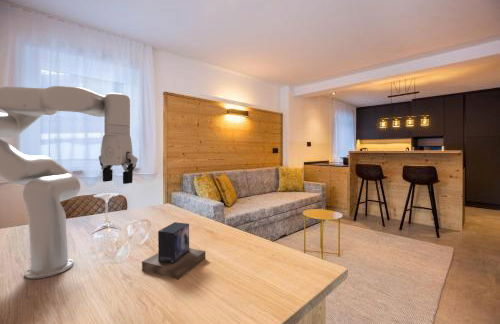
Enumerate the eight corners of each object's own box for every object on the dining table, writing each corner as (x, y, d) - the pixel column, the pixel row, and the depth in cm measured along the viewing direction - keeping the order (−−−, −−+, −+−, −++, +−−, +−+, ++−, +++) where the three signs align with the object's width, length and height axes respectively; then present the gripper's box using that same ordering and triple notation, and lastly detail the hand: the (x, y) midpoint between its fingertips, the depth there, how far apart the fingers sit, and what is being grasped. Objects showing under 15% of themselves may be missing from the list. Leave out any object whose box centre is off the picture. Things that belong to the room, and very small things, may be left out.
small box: (175, 264, 77) (174, 232, 77) (157, 262, 79) (156, 231, 78) (190, 250, 88) (190, 222, 87) (174, 249, 89) (174, 221, 89)
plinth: (142, 270, 79) (141, 261, 79) (173, 252, 93) (173, 245, 93) (178, 279, 74) (177, 270, 73) (205, 259, 87) (205, 251, 87)
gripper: (89, 130, 80) (89, 181, 80) (126, 130, 73) (126, 185, 74) (110, 132, 87) (110, 179, 87) (145, 132, 80) (145, 183, 81)
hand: (117, 182), depth 80 cm, fingers open, 9 cm apart
